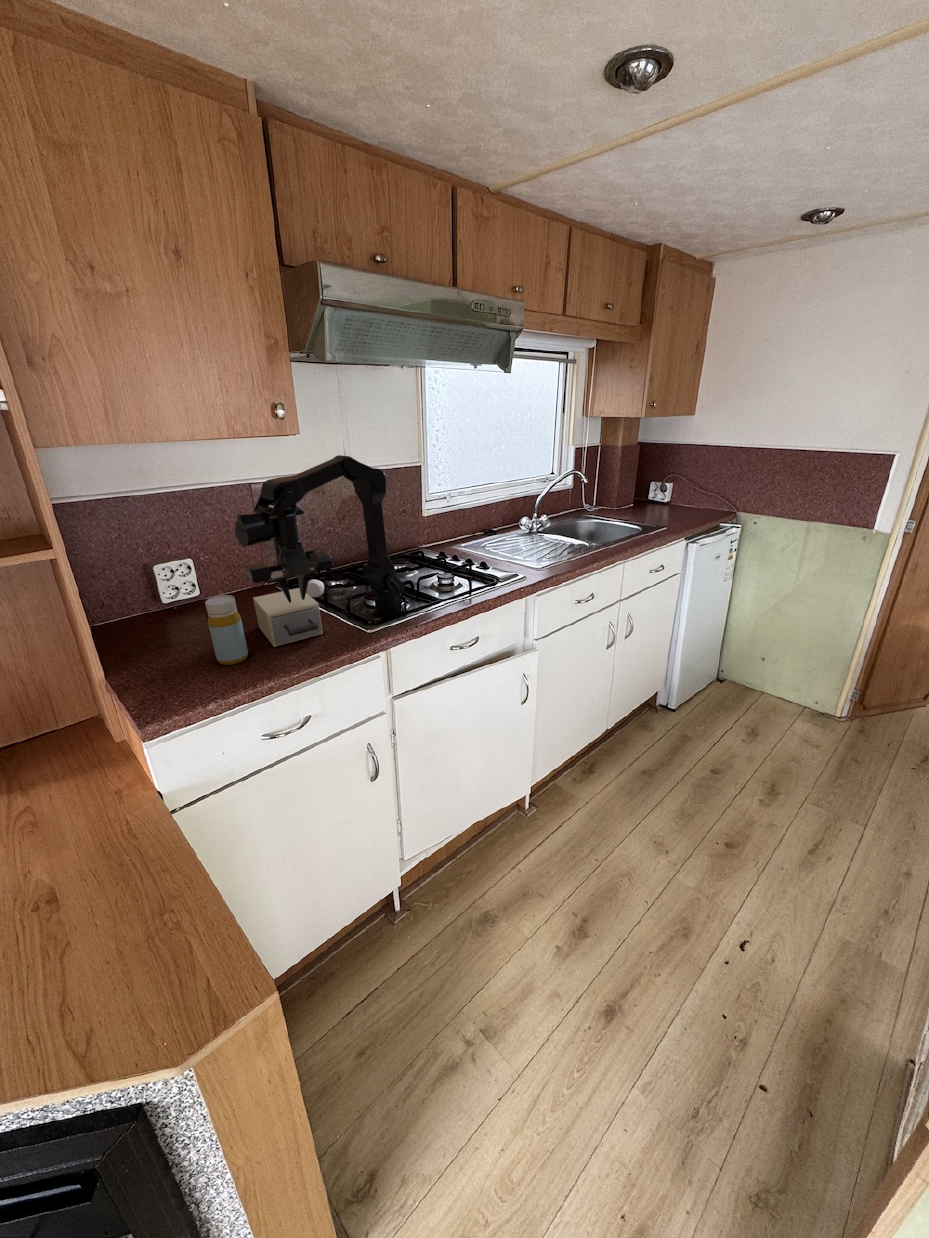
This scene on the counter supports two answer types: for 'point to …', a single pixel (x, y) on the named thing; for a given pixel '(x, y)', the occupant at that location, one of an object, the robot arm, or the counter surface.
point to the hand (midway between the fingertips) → (296, 600)
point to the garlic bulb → (315, 588)
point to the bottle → (226, 630)
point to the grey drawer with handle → (296, 625)
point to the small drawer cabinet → (280, 610)
